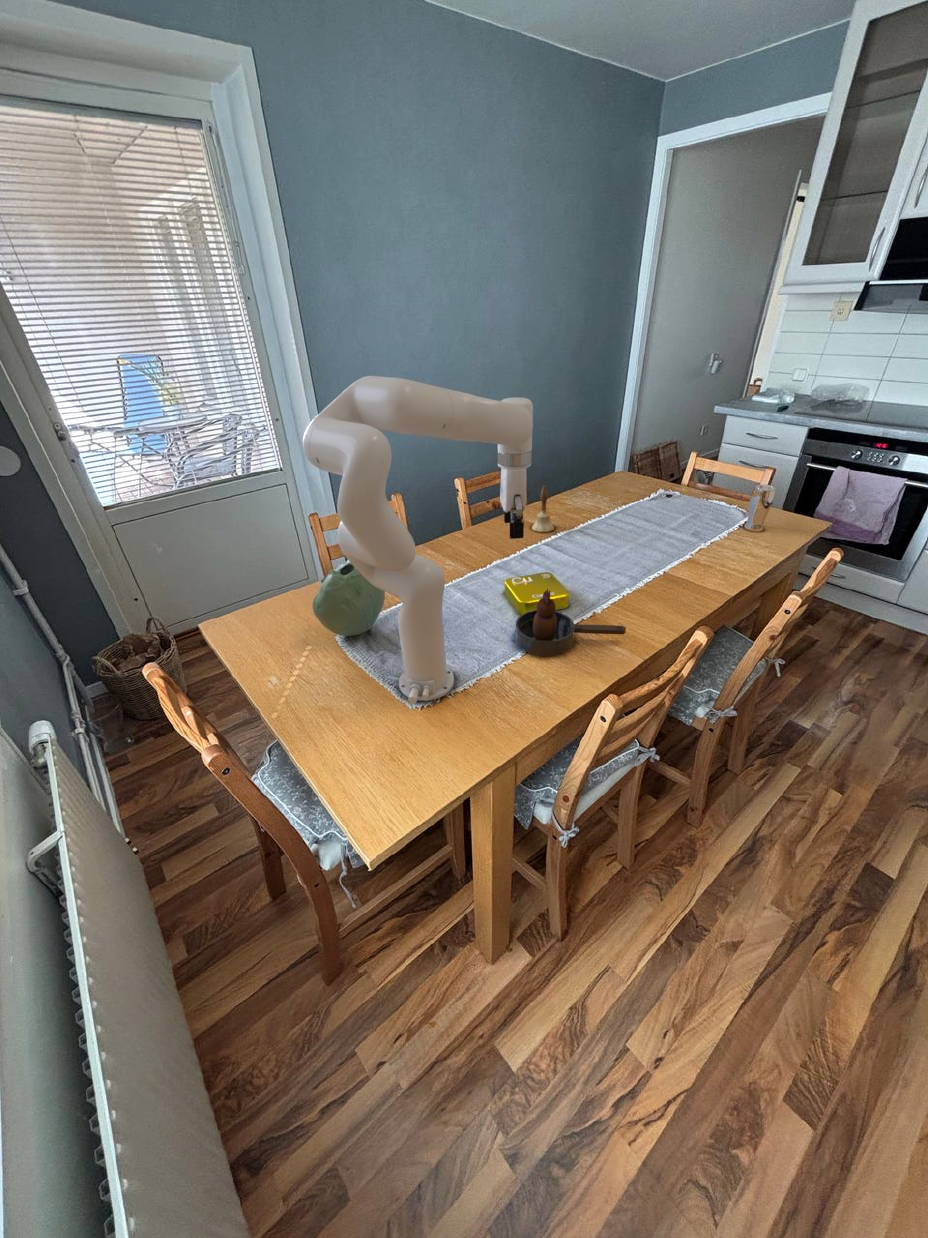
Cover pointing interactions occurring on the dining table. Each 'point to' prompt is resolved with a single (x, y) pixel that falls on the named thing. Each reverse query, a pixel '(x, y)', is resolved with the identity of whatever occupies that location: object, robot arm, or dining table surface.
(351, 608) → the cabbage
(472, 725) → the dining table surface
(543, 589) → the element tile
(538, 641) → the pan
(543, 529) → the hand bell
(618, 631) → the pan handle
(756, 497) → the beer glass
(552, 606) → the wooden figurine
